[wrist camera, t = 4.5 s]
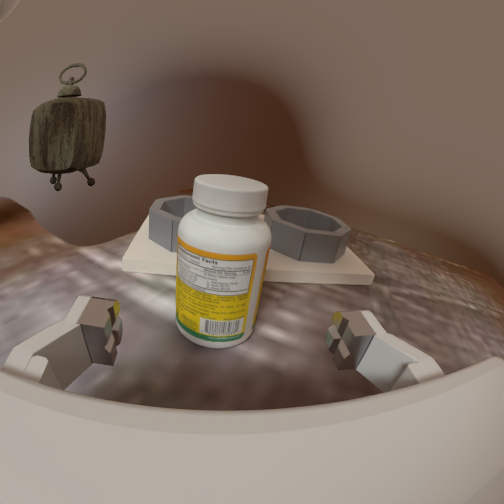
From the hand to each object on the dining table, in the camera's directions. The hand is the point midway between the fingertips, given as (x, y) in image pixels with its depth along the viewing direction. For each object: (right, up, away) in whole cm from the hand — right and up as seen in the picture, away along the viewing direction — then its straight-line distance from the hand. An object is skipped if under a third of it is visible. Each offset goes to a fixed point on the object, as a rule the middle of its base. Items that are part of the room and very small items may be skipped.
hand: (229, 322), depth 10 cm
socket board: (0, +4, +22) cm, 22 cm away
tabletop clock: (-36, +15, +34) cm, 52 cm away
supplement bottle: (-2, -2, +9) cm, 9 cm away
